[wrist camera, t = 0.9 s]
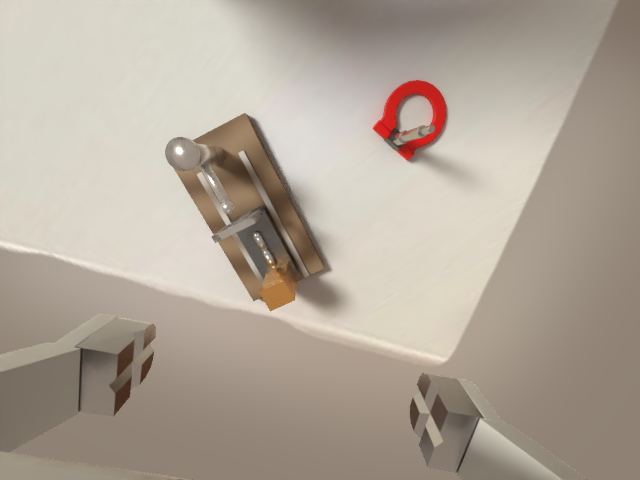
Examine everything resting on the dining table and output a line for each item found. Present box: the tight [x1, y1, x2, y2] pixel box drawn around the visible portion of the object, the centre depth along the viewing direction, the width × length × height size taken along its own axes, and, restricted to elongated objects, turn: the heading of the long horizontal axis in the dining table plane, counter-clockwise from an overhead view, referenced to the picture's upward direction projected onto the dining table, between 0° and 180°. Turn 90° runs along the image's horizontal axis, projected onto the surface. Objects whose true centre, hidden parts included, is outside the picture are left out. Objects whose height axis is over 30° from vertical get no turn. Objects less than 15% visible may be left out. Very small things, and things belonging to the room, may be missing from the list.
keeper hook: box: [165, 137, 235, 214], centre depth 35 cm, size 9×3×11 cm, turn 26°
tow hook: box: [373, 80, 446, 160], centre depth 35 cm, size 8×13×9 cm
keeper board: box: [174, 113, 324, 301], centre depth 43 cm, size 24×12×2 cm, turn 26°
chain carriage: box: [212, 205, 299, 311], centre depth 39 cm, size 12×5×9 cm, turn 26°
